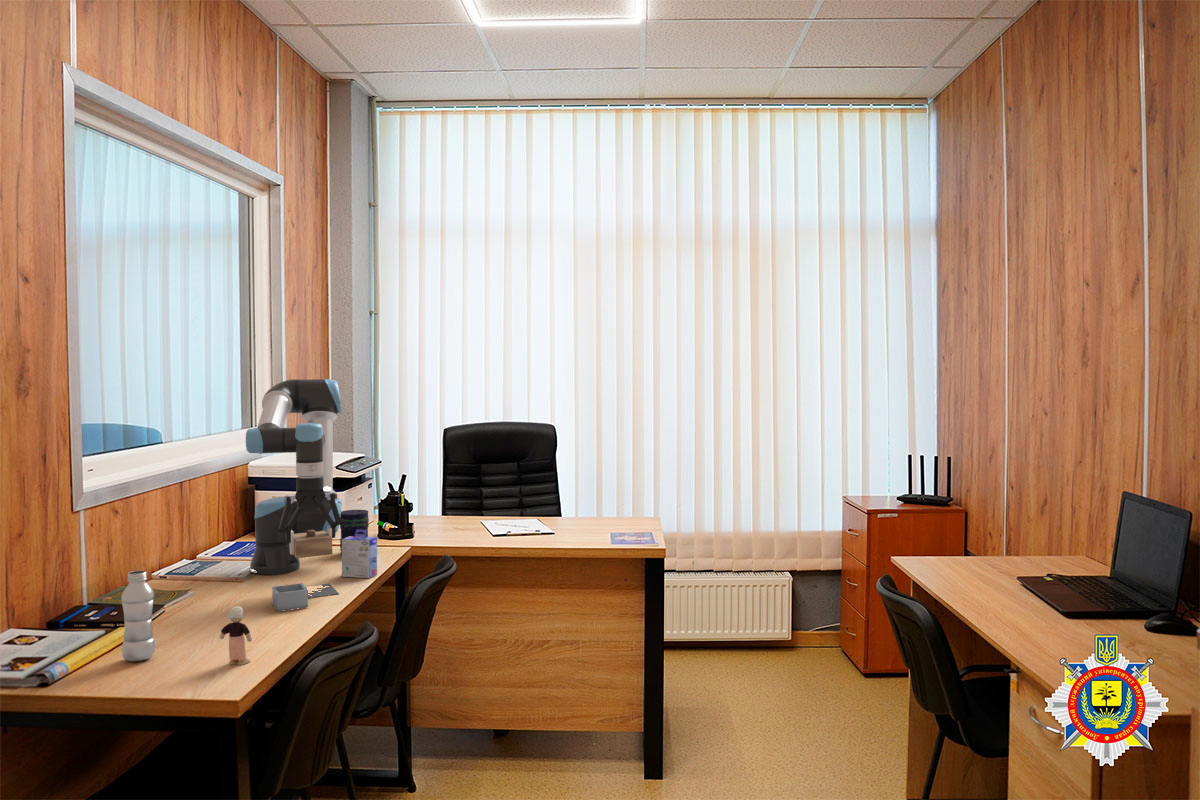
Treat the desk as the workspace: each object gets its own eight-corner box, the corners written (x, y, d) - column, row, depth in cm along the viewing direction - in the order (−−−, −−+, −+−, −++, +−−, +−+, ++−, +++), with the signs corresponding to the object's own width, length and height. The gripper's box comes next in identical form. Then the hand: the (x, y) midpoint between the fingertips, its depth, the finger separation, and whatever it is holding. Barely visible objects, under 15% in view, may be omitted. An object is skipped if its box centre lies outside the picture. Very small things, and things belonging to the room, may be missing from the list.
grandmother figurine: (257, 659, 189) (256, 604, 188) (250, 665, 185) (249, 609, 184) (222, 659, 188) (221, 604, 188) (215, 665, 184) (214, 609, 184)
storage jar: (355, 558, 287) (355, 515, 287) (333, 555, 292) (333, 513, 291) (375, 552, 296) (374, 510, 296) (353, 549, 301) (353, 508, 300)
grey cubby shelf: (272, 604, 232) (272, 586, 231) (302, 600, 236) (302, 583, 235) (277, 612, 225) (276, 593, 224) (307, 607, 229) (307, 589, 228)
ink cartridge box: (378, 574, 265) (377, 529, 264) (370, 578, 260) (369, 532, 259) (349, 573, 267) (349, 528, 266) (341, 577, 262) (340, 531, 261)
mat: (284, 589, 247) (284, 589, 247) (329, 584, 253) (329, 583, 253) (292, 600, 236) (292, 599, 236) (339, 594, 242) (339, 593, 242)
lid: (290, 550, 246) (289, 529, 246) (325, 547, 251) (324, 525, 251) (296, 558, 238) (296, 535, 237) (332, 554, 243) (332, 532, 242)
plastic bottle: (130, 655, 191) (128, 569, 190) (160, 654, 192) (158, 568, 191) (116, 665, 185) (114, 576, 184) (148, 664, 185) (145, 575, 185)
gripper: (270, 480, 234) (272, 558, 236) (352, 475, 245) (353, 549, 247) (266, 477, 241) (268, 553, 242) (346, 471, 252) (347, 544, 253)
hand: (311, 551), depth 244 cm, fingers closed on lid, 10 cm apart
